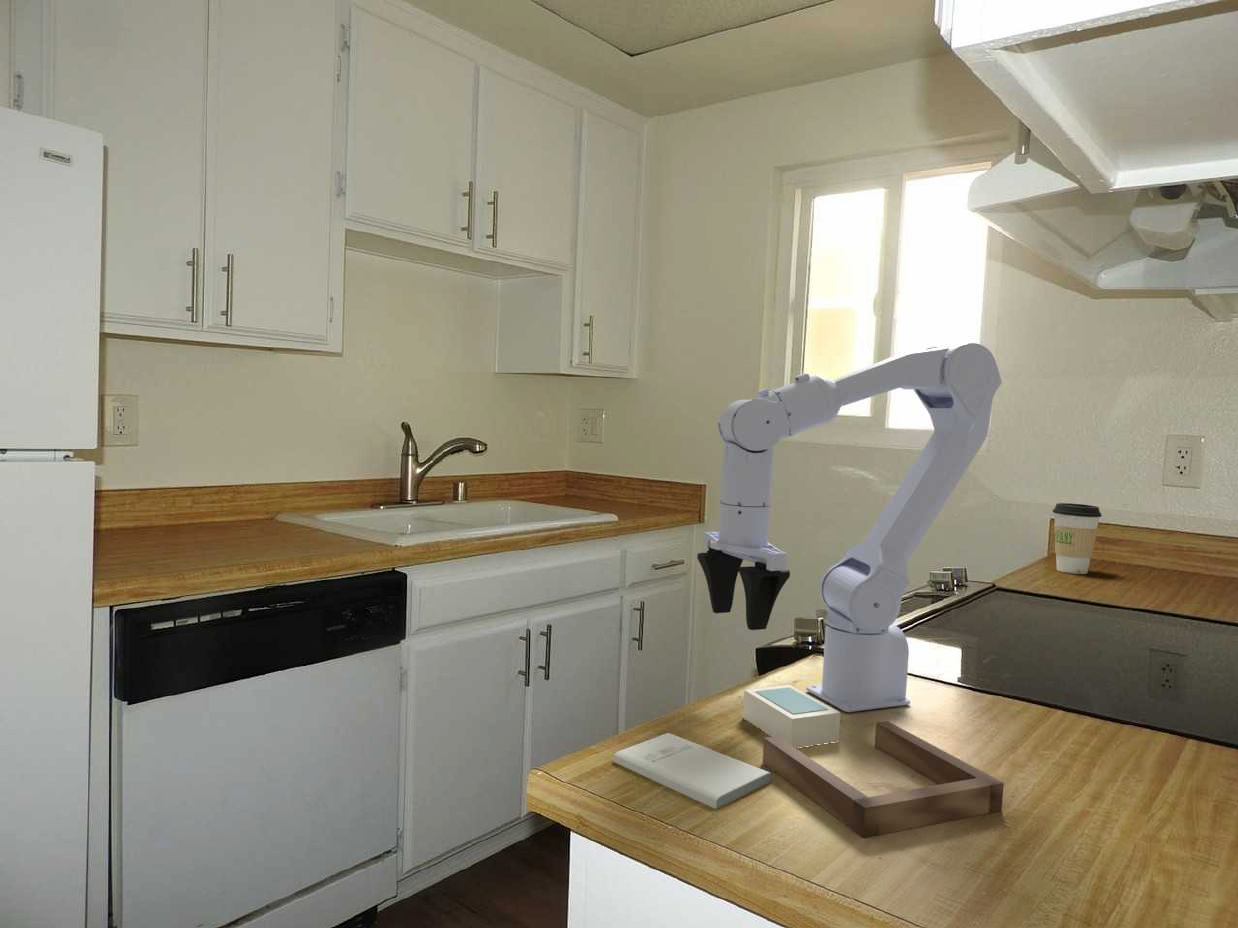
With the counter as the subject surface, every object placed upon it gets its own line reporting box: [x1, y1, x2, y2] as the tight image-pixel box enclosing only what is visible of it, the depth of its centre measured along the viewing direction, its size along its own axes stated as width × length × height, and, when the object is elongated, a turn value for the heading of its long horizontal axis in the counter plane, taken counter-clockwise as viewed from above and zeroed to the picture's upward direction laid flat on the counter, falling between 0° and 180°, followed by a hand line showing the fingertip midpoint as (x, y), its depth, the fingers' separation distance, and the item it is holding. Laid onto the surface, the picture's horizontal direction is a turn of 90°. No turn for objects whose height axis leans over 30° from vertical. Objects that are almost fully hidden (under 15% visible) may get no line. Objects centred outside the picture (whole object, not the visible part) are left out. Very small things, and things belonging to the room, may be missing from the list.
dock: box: [762, 721, 1005, 839], centre depth 79 cm, size 15×15×2 cm
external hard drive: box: [613, 732, 772, 810], centre depth 81 cm, size 2×8×12 cm
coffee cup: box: [1052, 502, 1102, 575], centre depth 195 cm, size 10×10×15 cm
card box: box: [742, 684, 841, 749], centre depth 92 cm, size 6×9×4 cm, turn 24°
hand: (738, 620), depth 100 cm, fingers open, 7 cm apart
